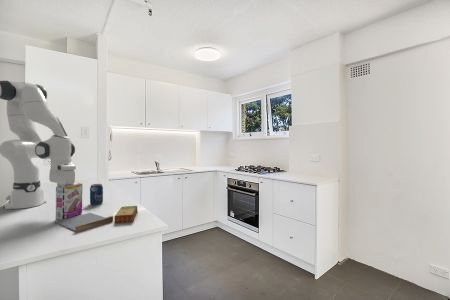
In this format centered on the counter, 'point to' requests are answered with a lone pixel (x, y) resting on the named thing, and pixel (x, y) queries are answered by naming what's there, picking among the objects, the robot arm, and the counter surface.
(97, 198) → the soda can
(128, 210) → the carton
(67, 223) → the mat
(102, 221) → the stop rail
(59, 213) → the candy bar box
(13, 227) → the counter surface
